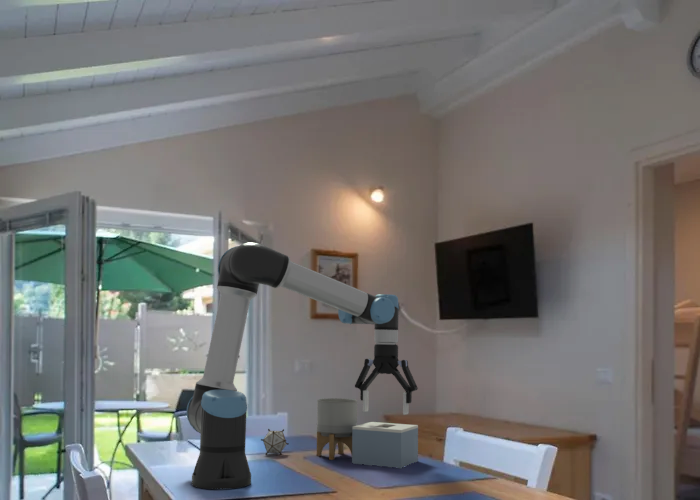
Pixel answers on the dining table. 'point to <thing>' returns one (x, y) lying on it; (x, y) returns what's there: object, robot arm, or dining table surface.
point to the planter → (335, 424)
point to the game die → (274, 441)
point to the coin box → (385, 444)
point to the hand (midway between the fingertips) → (385, 412)
